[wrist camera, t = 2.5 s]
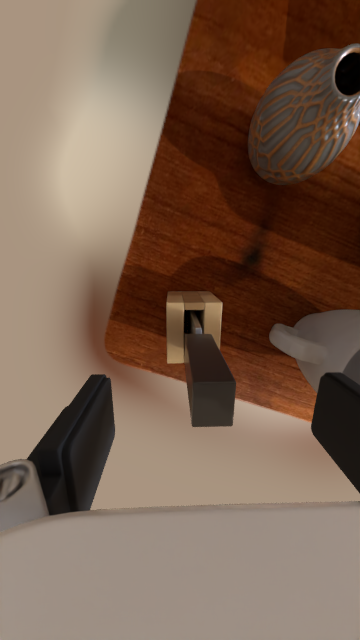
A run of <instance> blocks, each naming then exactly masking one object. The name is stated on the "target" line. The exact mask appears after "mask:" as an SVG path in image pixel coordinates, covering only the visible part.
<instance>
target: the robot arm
mask: <svg viewBox="0 0 360 640" xmlns="http://www.w3.org/2000/svg"><path fill="white" fill-rule="evenodd" d="M311 429H312V433H313V435H314V436H315V437H316V439H317V440H318V441H319V443H320V444H321V445H322V446H323V448H324V449H325V450H326V451H327V453H328V454H329V455H330V456H331V458H332V459H333V460H334V461H335V463H336V464H337V465H338V466H339V468H340V469H341V470H342V471H343V473H344V474H345V475H346V476H347V478H348V479H349V480H350V482H351V483H352V484H353V485H354V487H355V488H356V489H357V490H358V492H359V493H360V385H359V384H358V383H356V382H355V381H353V380H352V379H350V378H349V377H347V376H346V375H344V374H343V373H341V372H326V373H325V374H324V375H323V376H321V378H320V382H319V387H318V393H317V398H316V403H315V408H314V414H313V419H312V424H311ZM114 435H115V424H114V413H113V401H112V390H111V380H110V378H106V375H91V376H90V377H89V379H88V380H87V381H86V383H85V384H84V385H83V387H82V388H81V390H80V391H79V392H78V394H77V395H76V397H75V398H74V399H73V401H72V402H71V403H70V405H69V406H67V407H65V409H63V411H62V412H61V413H60V415H59V416H58V417H57V419H56V420H55V422H54V423H53V424H52V426H51V427H50V428H49V430H48V431H47V432H46V434H45V435H44V436H43V438H42V439H41V440H40V442H39V443H38V444H37V446H36V447H35V449H34V450H33V451H32V453H31V454H30V455H29V457H28V458H27V459H18V460H13V461H9V462H7V463H4V464H2V465H0V640H360V501H349V502H306V503H305V502H304V503H303V502H302V503H263V504H229V505H228V504H225V505H196V506H195V505H194V506H163V507H162V506H161V507H139V508H120V509H99V510H90V508H91V505H92V502H93V499H94V496H95V493H96V490H97V487H98V484H99V481H100V478H101V475H102V472H103V469H104V466H105V463H106V460H107V457H108V455H109V452H110V449H111V446H112V442H113V440H114Z"/></svg>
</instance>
